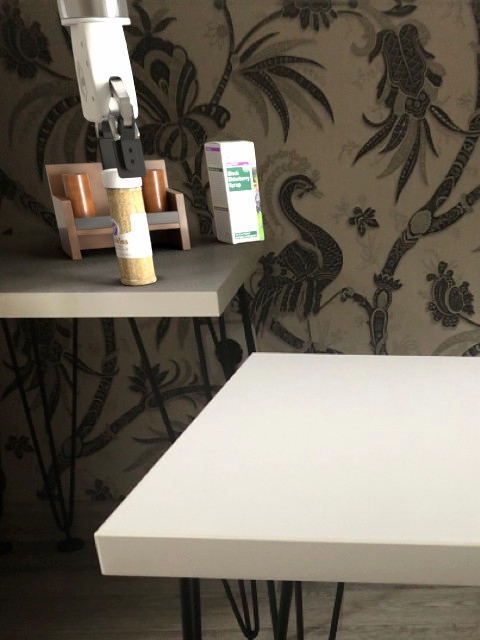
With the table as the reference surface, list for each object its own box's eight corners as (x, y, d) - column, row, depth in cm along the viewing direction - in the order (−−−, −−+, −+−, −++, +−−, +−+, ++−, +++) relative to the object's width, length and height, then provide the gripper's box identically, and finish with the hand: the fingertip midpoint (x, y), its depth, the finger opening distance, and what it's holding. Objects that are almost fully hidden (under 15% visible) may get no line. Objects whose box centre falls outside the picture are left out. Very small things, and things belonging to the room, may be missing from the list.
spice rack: (73, 260, 134) (55, 170, 128) (62, 250, 142) (45, 165, 136) (191, 249, 141) (178, 164, 135) (174, 240, 149) (162, 159, 143)
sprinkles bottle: (114, 284, 119) (92, 169, 112) (142, 278, 122) (123, 166, 115) (136, 287, 116) (116, 171, 110) (165, 281, 120) (147, 168, 113)
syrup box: (233, 244, 145) (221, 142, 138) (216, 240, 149) (203, 141, 142) (265, 240, 148) (254, 140, 141) (247, 236, 152) (236, 139, 145)
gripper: (48, 14, 109) (81, 172, 118) (71, 4, 96) (106, 182, 104) (112, 14, 112) (140, 168, 121) (143, 4, 99) (172, 177, 108)
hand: (124, 174), depth 113 cm, fingers open, 9 cm apart
